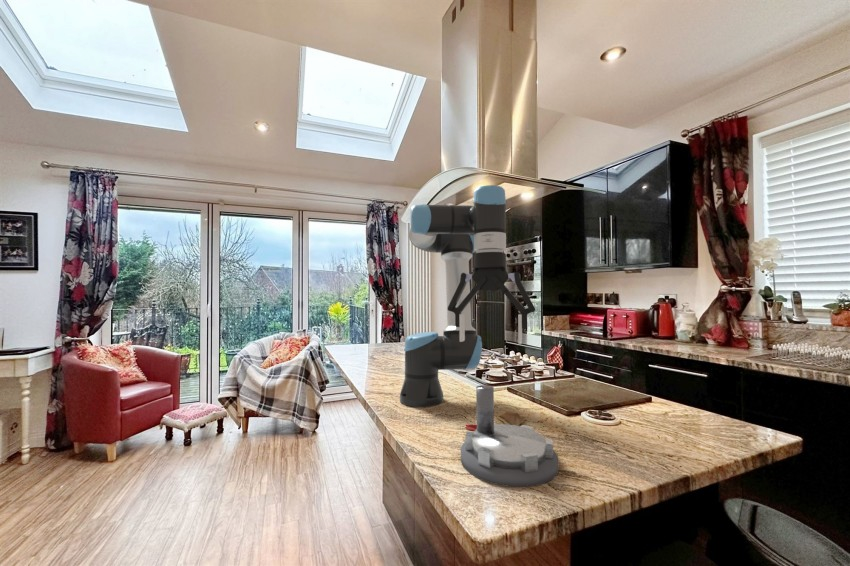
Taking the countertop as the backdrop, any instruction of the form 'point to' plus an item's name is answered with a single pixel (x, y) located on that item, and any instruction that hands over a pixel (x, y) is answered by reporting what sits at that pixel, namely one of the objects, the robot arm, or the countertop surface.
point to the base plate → (510, 471)
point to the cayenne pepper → (471, 427)
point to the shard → (511, 418)
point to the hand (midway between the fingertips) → (490, 342)
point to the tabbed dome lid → (504, 439)
